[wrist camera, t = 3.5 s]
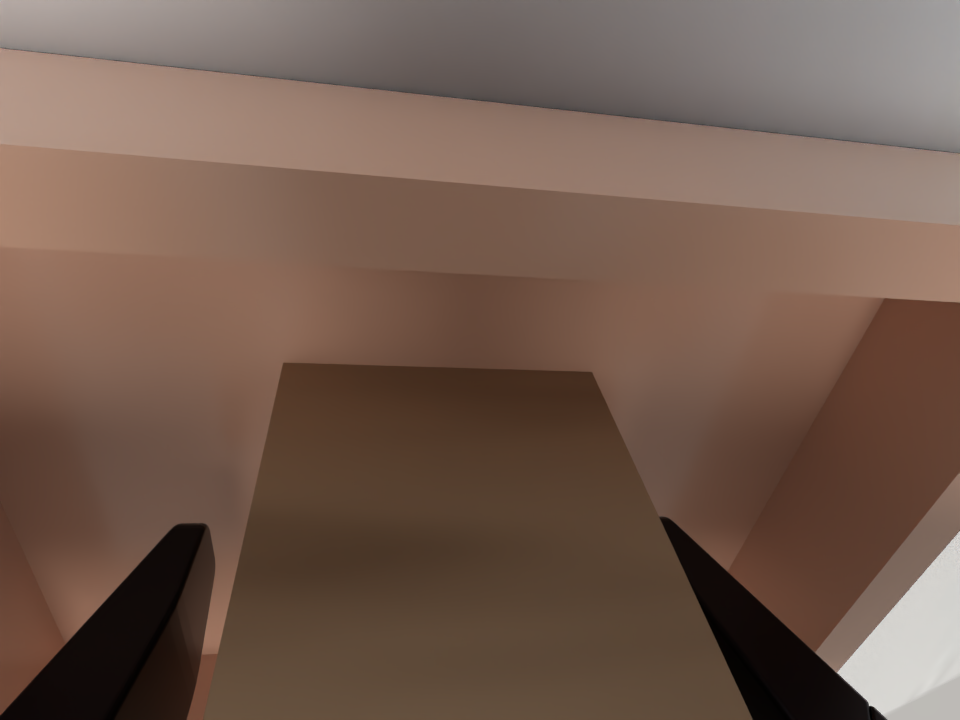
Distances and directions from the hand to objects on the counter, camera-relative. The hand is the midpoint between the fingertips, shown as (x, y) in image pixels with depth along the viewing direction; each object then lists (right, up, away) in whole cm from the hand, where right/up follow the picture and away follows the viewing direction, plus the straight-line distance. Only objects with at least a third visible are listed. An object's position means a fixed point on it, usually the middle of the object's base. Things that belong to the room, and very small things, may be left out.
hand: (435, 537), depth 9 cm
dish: (0, +1, +1) cm, 2 cm away
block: (0, +1, +1) cm, 1 cm away
